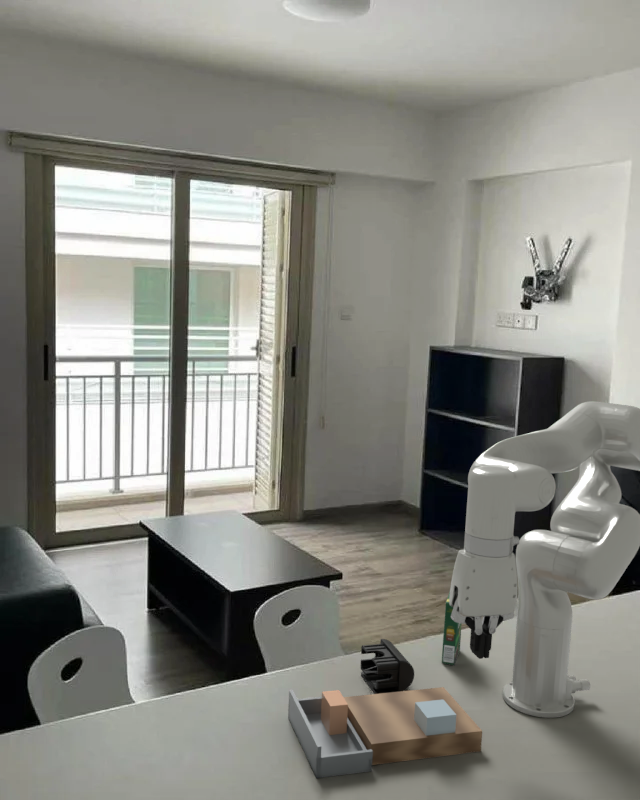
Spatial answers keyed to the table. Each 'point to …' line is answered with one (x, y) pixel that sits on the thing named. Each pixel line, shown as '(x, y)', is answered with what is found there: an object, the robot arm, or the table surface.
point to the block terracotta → (334, 712)
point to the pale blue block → (435, 717)
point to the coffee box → (450, 637)
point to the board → (408, 726)
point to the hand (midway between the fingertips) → (479, 654)
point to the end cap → (386, 668)
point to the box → (326, 741)
